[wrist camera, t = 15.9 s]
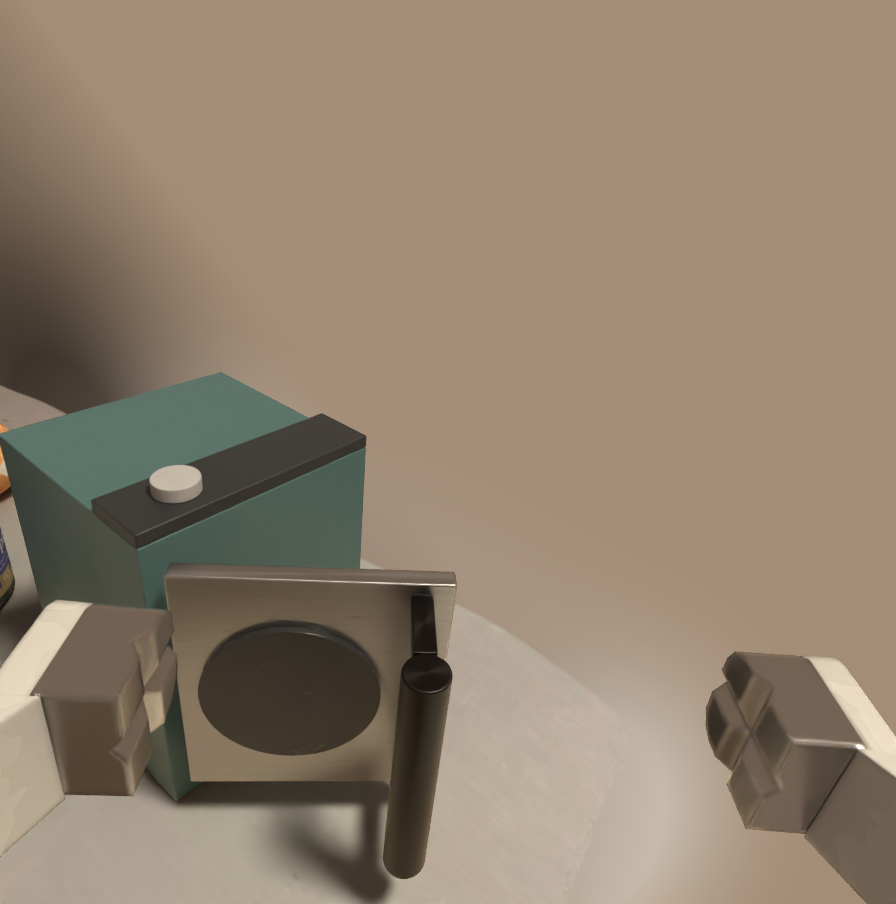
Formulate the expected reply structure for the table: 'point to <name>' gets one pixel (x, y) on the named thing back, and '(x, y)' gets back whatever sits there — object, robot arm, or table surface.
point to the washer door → (318, 681)
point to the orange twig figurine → (3, 468)
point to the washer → (181, 502)
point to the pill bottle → (5, 574)
